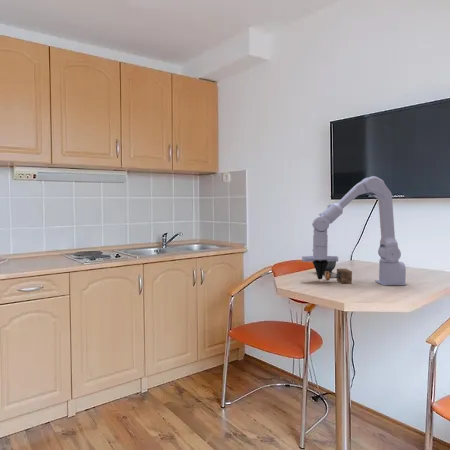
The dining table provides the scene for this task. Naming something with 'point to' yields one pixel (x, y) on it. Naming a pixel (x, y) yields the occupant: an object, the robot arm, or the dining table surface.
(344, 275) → the block
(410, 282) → the dining table surface
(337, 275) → the pin
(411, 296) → the dining table surface
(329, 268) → the mortar and pestle
